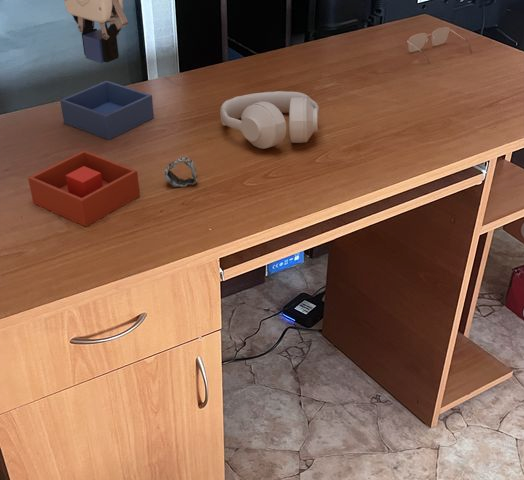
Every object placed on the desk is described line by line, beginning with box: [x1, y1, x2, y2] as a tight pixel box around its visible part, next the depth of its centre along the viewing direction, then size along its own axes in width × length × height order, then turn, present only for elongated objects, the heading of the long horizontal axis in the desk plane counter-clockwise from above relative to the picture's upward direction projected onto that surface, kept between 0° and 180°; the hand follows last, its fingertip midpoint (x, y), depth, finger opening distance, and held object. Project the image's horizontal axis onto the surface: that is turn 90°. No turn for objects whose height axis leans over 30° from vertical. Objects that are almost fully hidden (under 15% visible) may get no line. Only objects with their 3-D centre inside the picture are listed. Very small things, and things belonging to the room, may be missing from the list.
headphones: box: [219, 90, 320, 149], centre depth 146 cm, size 18×8×20 cm
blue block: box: [82, 28, 105, 64], centre depth 138 cm, size 4×4×4 cm
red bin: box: [27, 149, 141, 228], centre depth 127 cm, size 12×12×5 cm
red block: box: [66, 166, 103, 198], centre depth 127 cm, size 4×4×4 cm
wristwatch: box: [164, 155, 198, 188], centre depth 131 cm, size 3×5×5 cm
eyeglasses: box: [406, 26, 473, 64], centre depth 180 cm, size 14×8×4 cm, turn 124°
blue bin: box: [59, 80, 155, 141], centre depth 150 cm, size 12×12×5 cm
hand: (101, 55), depth 139 cm, fingers closed on blue block, 4 cm apart
